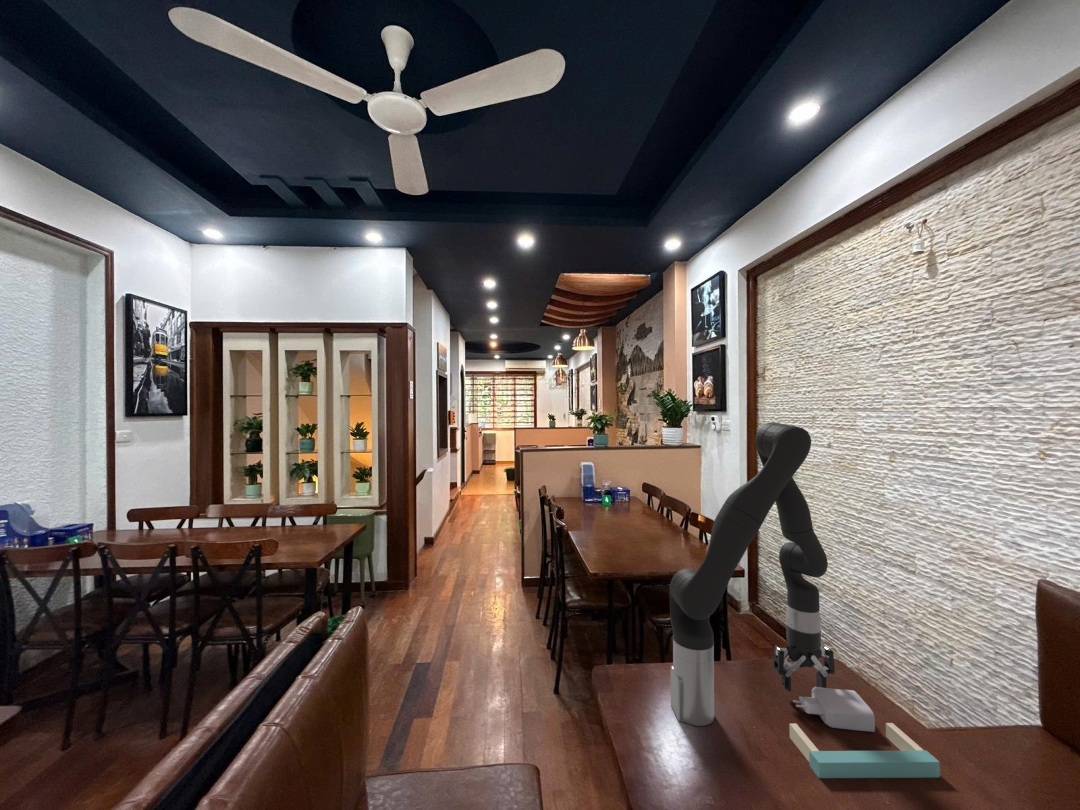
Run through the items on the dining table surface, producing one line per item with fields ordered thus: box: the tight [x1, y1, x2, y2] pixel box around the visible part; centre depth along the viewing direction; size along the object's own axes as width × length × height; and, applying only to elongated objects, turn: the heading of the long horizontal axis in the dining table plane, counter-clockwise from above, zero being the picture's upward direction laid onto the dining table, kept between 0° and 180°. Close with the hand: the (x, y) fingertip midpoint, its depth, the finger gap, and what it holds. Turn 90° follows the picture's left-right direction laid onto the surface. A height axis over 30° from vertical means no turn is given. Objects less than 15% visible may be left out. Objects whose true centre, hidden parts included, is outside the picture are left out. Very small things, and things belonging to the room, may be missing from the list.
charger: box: [792, 686, 876, 733], centre depth 105 cm, size 5×9×15 cm
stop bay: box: [788, 722, 941, 779], centre depth 93 cm, size 24×11×3 cm, turn 90°
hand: (803, 689), depth 112 cm, fingers open, 8 cm apart
